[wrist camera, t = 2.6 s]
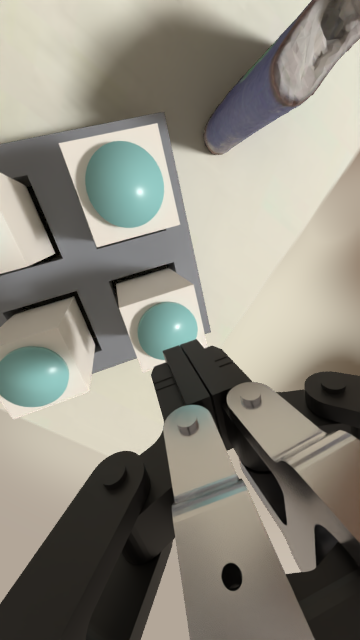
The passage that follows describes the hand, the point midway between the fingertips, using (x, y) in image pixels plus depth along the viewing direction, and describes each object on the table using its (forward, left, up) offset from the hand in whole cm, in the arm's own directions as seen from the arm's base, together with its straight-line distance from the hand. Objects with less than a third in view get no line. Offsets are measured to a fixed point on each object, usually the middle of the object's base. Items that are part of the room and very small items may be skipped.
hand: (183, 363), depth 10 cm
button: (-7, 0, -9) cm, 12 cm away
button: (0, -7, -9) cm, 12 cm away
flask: (-12, +12, -12) cm, 20 cm away
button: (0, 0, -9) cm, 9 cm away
